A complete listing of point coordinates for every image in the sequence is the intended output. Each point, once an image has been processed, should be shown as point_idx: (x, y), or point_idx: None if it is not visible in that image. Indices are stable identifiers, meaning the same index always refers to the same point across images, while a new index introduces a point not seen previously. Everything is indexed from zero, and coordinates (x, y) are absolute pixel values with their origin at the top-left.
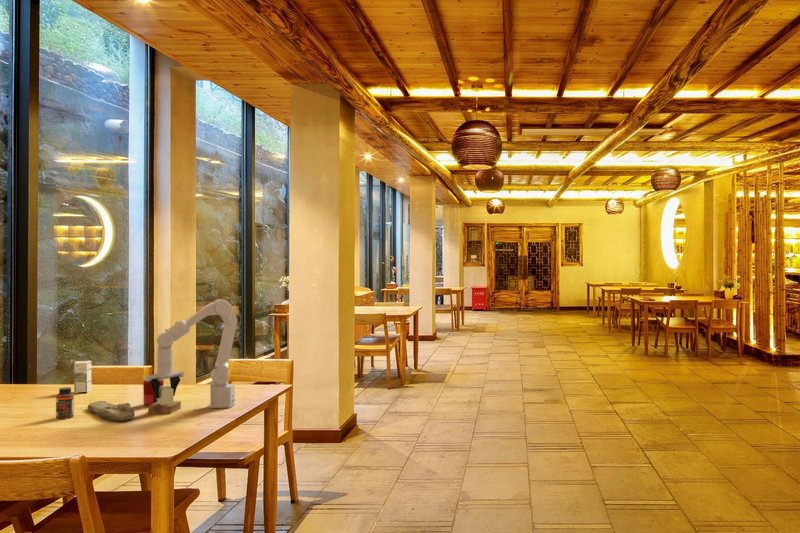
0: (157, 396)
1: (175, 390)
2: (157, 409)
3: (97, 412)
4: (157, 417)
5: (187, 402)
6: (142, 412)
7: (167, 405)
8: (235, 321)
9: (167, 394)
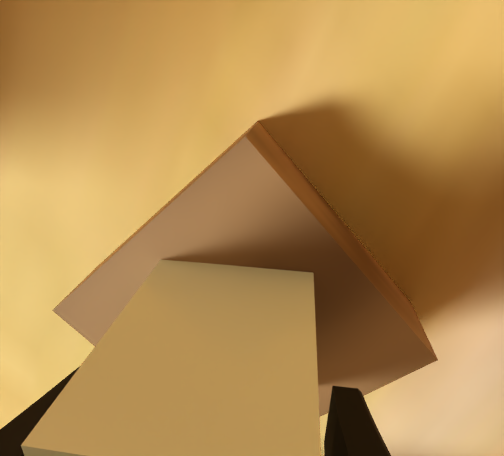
0: (367, 412)
1: (11, 424)
2: (361, 258)
3: None
4: (467, 48)
5: (3, 409)
6: (415, 378)
7: (258, 217)
8: None
9: (203, 365)
